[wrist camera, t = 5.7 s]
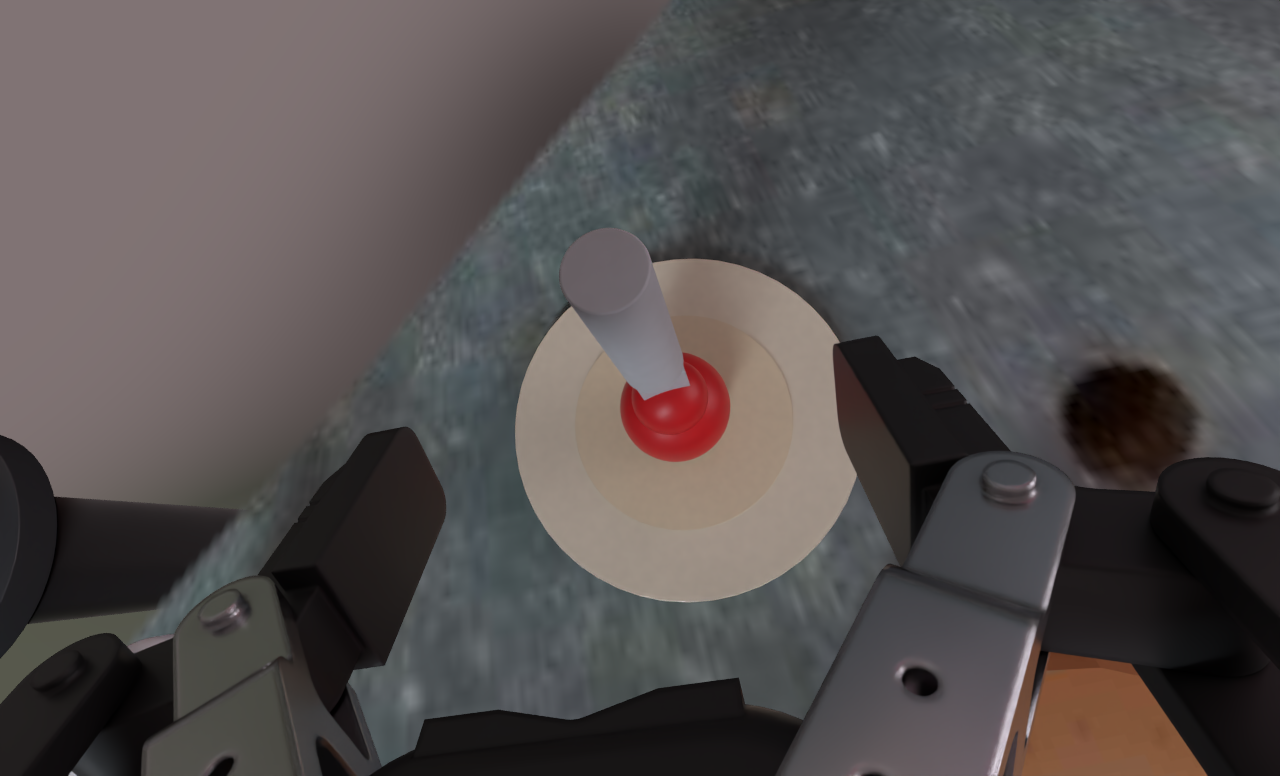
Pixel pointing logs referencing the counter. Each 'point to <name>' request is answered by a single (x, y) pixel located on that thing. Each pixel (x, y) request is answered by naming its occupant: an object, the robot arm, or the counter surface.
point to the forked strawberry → (644, 347)
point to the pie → (1102, 724)
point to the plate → (707, 485)
